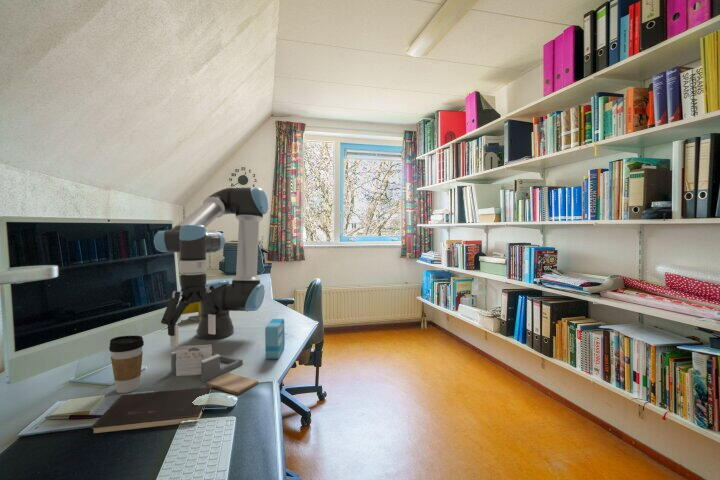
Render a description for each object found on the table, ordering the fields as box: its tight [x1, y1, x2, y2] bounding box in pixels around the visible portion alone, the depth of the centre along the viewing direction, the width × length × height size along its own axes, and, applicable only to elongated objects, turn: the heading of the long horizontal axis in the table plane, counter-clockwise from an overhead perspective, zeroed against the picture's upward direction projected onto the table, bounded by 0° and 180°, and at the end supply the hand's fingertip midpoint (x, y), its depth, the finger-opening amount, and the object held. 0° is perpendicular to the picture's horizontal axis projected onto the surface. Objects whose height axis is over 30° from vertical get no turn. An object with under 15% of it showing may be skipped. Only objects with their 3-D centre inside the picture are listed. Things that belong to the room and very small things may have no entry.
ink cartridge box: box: [175, 343, 213, 377], centre depth 112 cm, size 2×11×10 cm, turn 100°
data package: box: [264, 318, 286, 360], centre depth 129 cm, size 12×4×12 cm, turn 1°
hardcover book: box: [90, 386, 213, 434], centre depth 90 cm, size 16×23×2 cm
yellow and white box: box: [181, 301, 201, 322], centre depth 178 cm, size 20×8×16 cm, turn 130°
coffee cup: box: [108, 335, 145, 394], centre depth 102 cm, size 8×8×15 cm
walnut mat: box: [205, 371, 259, 395], centre depth 105 cm, size 13×8×1 cm, turn 63°
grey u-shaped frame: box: [169, 349, 244, 383], centre depth 117 cm, size 16×16×6 cm
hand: (194, 339), depth 112 cm, fingers open, 13 cm apart
